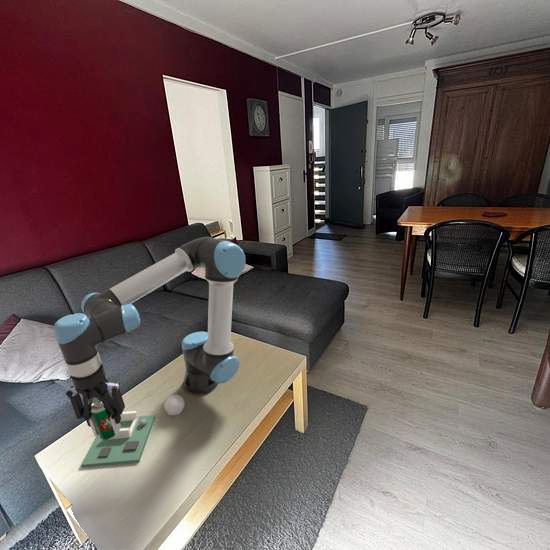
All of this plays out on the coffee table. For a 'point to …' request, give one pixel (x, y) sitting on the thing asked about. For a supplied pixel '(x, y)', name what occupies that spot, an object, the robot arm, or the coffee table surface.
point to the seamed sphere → (174, 405)
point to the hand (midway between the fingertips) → (108, 431)
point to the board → (121, 442)
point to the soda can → (102, 420)
